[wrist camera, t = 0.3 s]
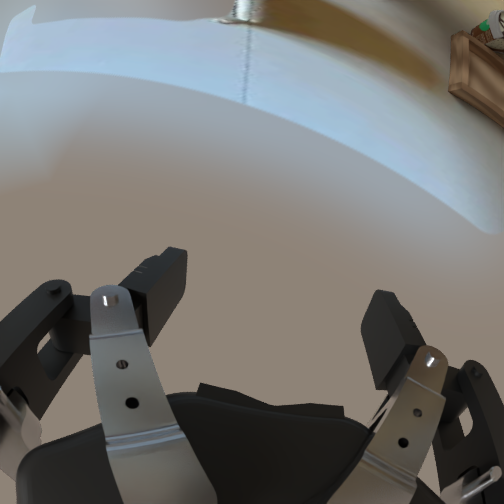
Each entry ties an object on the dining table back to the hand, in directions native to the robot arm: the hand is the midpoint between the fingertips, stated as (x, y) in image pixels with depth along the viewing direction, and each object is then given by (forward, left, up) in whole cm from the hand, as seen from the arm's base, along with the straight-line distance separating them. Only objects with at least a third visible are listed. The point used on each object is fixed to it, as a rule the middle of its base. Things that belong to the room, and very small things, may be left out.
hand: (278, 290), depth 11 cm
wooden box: (-28, +30, -29) cm, 50 cm away
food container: (-39, +29, -29) cm, 57 cm away
